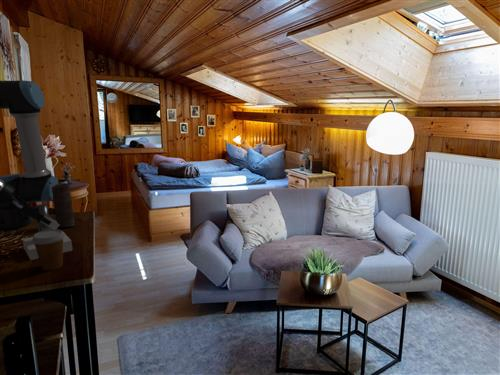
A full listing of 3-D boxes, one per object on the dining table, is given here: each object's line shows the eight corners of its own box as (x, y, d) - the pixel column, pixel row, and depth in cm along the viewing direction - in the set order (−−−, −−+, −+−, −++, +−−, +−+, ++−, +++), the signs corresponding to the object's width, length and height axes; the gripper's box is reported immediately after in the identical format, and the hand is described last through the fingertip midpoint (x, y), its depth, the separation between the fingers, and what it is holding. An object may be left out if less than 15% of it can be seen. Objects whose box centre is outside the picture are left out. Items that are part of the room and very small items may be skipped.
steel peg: (38, 238, 137) (34, 205, 134) (50, 236, 140) (46, 203, 137) (40, 241, 134) (36, 207, 131) (52, 238, 137) (48, 205, 134)
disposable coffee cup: (44, 261, 128) (40, 229, 125) (72, 260, 129) (68, 228, 126) (30, 273, 119) (25, 239, 116) (60, 272, 119) (56, 238, 117)
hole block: (24, 248, 139) (22, 239, 138) (63, 240, 148) (62, 230, 147) (30, 260, 129) (29, 249, 128) (72, 250, 137) (71, 240, 137)
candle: (67, 229, 160) (61, 186, 156) (52, 228, 162) (47, 185, 157) (78, 224, 168) (73, 182, 163) (64, 223, 169) (59, 182, 164)
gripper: (-13, 194, 130) (44, 228, 144) (-9, 204, 117) (54, 240, 131) (2, 178, 132) (57, 213, 146) (8, 186, 119) (68, 223, 133)
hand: (55, 226), depth 138 cm, fingers closed on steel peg, 4 cm apart
